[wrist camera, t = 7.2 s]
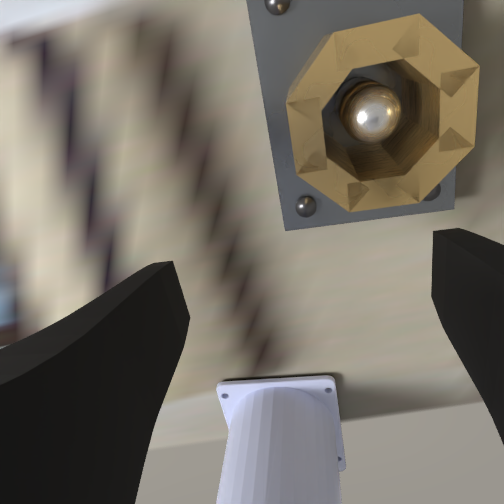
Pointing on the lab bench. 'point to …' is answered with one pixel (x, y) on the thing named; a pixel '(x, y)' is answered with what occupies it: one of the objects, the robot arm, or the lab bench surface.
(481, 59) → the lab bench surface
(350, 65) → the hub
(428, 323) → the lab bench surface
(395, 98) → the block
